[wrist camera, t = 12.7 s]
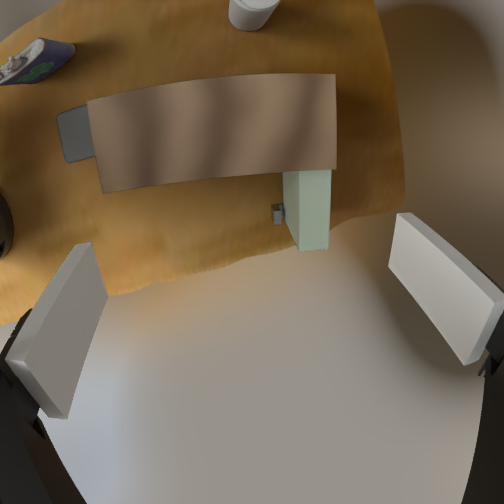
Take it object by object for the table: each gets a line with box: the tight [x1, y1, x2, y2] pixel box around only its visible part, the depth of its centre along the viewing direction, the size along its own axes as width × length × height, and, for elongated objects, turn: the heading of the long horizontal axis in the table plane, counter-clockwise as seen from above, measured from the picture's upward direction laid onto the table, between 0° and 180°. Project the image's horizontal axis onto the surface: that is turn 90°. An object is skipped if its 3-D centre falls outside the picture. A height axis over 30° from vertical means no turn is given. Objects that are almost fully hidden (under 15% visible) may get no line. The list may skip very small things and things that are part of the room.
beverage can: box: [229, 0, 280, 31], centre depth 26 cm, size 5×5×12 cm
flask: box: [0, 38, 76, 86], centre depth 26 cm, size 9×3×11 cm, turn 107°
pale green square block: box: [283, 170, 331, 252], centre depth 39 cm, size 4×10×10 cm, turn 4°
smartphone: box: [56, 104, 95, 163], centre depth 37 cm, size 8×1×15 cm
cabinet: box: [87, 73, 337, 194], centre depth 32 cm, size 22×9×14 cm, turn 94°
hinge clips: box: [271, 204, 284, 225], centre depth 42 cm, size 7×10×2 cm
